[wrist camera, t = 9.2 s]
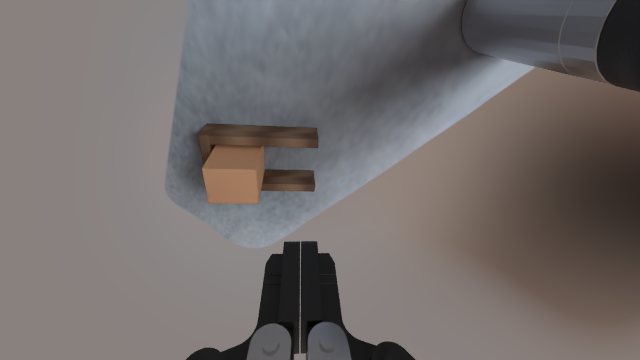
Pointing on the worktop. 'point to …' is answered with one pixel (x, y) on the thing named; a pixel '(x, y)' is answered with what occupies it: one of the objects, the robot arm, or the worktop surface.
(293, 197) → the worktop surface
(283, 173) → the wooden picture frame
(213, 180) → the block
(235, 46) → the worktop surface
